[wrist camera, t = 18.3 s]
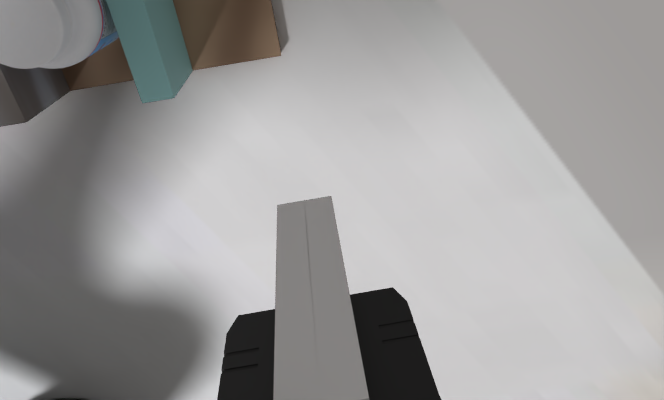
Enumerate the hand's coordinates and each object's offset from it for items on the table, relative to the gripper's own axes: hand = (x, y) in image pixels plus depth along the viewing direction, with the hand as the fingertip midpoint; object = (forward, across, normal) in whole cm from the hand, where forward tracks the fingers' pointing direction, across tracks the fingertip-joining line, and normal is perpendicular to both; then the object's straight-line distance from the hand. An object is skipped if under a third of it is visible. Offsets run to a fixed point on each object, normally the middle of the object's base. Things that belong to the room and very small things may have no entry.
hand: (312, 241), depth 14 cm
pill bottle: (+26, -13, +6) cm, 29 cm away
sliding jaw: (+25, -9, +6) cm, 27 cm away
